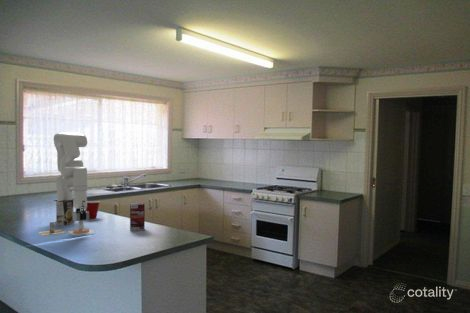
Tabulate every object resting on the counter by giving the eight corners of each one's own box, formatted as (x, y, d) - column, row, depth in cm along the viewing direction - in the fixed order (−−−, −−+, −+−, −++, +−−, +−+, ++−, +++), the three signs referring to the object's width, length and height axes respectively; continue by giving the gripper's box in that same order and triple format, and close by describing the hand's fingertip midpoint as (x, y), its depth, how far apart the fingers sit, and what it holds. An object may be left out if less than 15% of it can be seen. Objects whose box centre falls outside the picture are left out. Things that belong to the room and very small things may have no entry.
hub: (67, 233, 216) (66, 219, 215) (87, 230, 224) (87, 216, 223) (73, 237, 207) (73, 222, 206) (95, 233, 215) (95, 219, 214)
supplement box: (130, 231, 221) (129, 204, 221) (130, 229, 226) (129, 203, 225) (144, 230, 223) (144, 204, 223) (144, 228, 228) (144, 202, 227)
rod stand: (38, 234, 215) (37, 222, 214) (59, 230, 222) (59, 219, 222) (43, 238, 206) (43, 225, 205) (66, 234, 213) (66, 222, 213)
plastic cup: (103, 216, 266) (102, 200, 266) (96, 219, 255) (95, 202, 255) (88, 216, 267) (88, 199, 267) (81, 219, 256) (80, 202, 256)
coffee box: (65, 227, 232) (64, 201, 231) (56, 226, 233) (55, 201, 232) (74, 224, 241) (73, 199, 240) (65, 223, 242) (65, 199, 241)
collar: (72, 219, 215) (72, 211, 215) (84, 217, 220) (84, 210, 219) (76, 221, 210) (76, 213, 210) (89, 219, 214) (89, 211, 214)
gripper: (68, 187, 218) (69, 217, 219) (78, 190, 205) (79, 222, 206) (81, 186, 223) (82, 216, 224) (92, 189, 210) (93, 220, 211)
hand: (80, 218), depth 215 cm, fingers closed on collar, 7 cm apart
